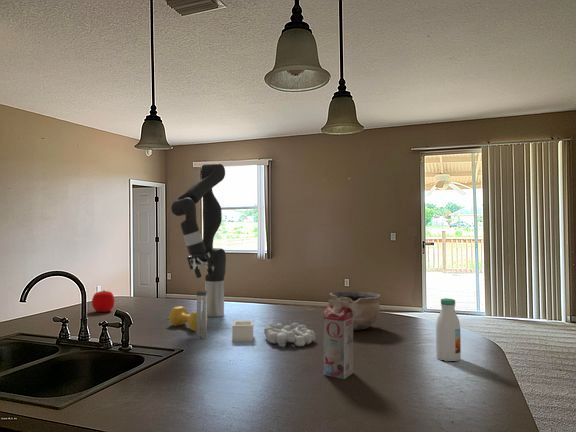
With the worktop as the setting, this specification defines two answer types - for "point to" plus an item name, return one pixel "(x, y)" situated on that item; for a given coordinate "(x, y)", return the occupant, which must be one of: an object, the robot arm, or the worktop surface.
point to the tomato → (103, 301)
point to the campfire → (289, 334)
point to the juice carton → (338, 339)
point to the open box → (242, 331)
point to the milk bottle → (448, 332)
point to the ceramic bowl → (360, 307)
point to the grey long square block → (202, 314)
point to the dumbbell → (183, 317)
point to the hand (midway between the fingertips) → (205, 276)
